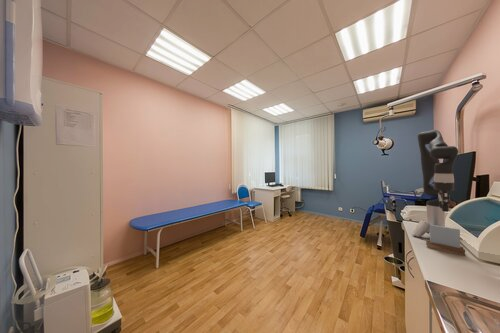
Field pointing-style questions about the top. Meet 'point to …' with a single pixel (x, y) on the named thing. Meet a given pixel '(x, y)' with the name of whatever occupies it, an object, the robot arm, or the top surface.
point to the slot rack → (446, 248)
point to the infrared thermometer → (421, 229)
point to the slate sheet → (445, 236)
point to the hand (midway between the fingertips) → (443, 209)
